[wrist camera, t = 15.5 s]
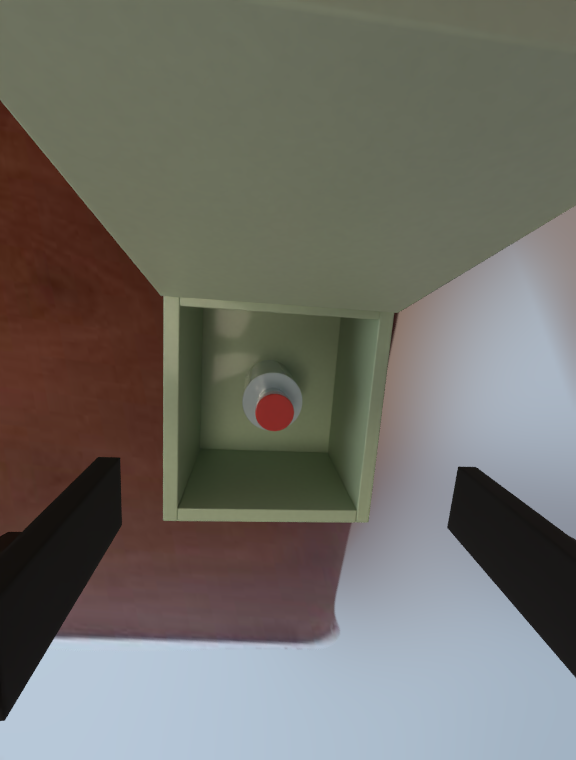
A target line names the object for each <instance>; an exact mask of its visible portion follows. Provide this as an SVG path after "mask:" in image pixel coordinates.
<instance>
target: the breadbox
mask: <svg viewBox="0 0 576 760" xmlns="http://www.w3.org/2000/svg"><path fill="white" fill-rule="evenodd" d="M393 318H394V312H380V311H366V310H352V309H338V308H324V307H310V306H296V305H282V304H268V303H254V302H240V301H226V300H212V299H198V298H184V297H170V296H164V376H163V520H164V521H177V520H178V521H251V522H368V521H369V513H370V504H371V496H372V488H373V480H374V472H375V463H376V455H377V448H378V440H379V432H380V423H381V415H382V407H383V399H384V391H385V383H386V375H387V367H388V359H389V351H390V342H391V334H392V326H393ZM263 360H275V361H278V362H280V363H282V364H284V365H285V366H286V367H287V368H288V369H289V371H290V372H291V374H292V376H293V378H294V379H295V381H296V383H297V385H298V387H299V388H300V391H301V394H302V408H301V411H300V414H299V416H298V417H297V419H296V420H295V421H294V422H293V423H292V424H291V425H289V426H287V427H286V428H285V429H283V430H280V431H268V430H263V429H260V428H258V427H256V426H255V425H253V424H252V423H251V422H250V421H249V420H248V418H247V417H246V415H245V413H244V410H243V405H242V399H243V390H244V382H245V377H246V374H247V372H248V371H249V369H250V368H251V367H252V366H253V365H255V364H256V363H258V362H260V361H263Z"/></svg>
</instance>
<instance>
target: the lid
mask: <svg viewBox="0 0 576 760" xmlns="http://www.w3.org/2000/svg"><path fill="white" fill-rule="evenodd" d="M0 100H1V101H2V103H3V104H4V105H5V106H6V108H7V109H8V110H9V111H10V112H11V114H12V115H13V116H14V117H15V118H16V120H17V121H18V122H19V123H20V125H21V126H22V127H23V128H24V129H25V131H26V132H27V133H28V134H29V136H30V137H31V138H32V139H33V140H34V142H35V143H36V144H37V145H38V147H39V148H40V149H41V150H42V151H43V153H44V154H45V155H46V156H47V157H48V159H49V160H50V161H51V162H52V164H53V165H54V166H55V167H56V168H57V170H58V171H59V172H60V173H61V175H62V176H63V177H64V178H65V179H66V181H67V182H68V183H69V184H70V185H71V187H72V188H73V189H74V190H75V192H76V193H77V194H78V195H79V196H80V198H81V199H82V200H83V201H84V203H85V204H86V205H87V206H88V207H89V209H90V210H91V211H92V212H93V213H94V215H95V216H96V217H97V218H98V220H99V221H100V222H101V223H102V224H103V226H104V227H105V228H106V229H107V231H108V232H109V233H110V234H111V235H112V237H113V238H114V239H115V240H116V242H117V243H118V244H119V245H120V246H121V248H122V249H123V250H124V251H125V252H126V254H127V255H128V256H129V257H130V259H131V260H132V261H133V262H134V263H135V265H136V266H137V267H138V268H139V270H140V271H141V272H142V273H143V274H144V276H145V277H146V278H147V279H148V280H149V282H150V283H151V284H152V285H153V287H154V288H155V289H156V290H157V291H158V293H159V294H160V295H161V296H170V297H184V298H198V299H212V300H226V301H240V302H254V303H268V304H282V305H296V306H310V307H324V308H338V309H352V310H366V311H380V312H395V313H399V312H400V311H402V310H404V309H405V308H407V307H408V306H410V305H412V304H414V303H415V302H417V301H419V300H420V299H422V298H423V297H425V296H427V295H428V294H430V293H432V292H433V291H435V290H437V289H438V288H440V287H442V286H443V285H445V284H447V283H448V282H450V281H451V280H453V279H455V278H457V277H458V276H460V275H461V274H463V273H465V272H466V271H468V270H470V269H471V268H473V267H475V266H476V265H478V264H480V263H481V262H483V261H485V260H486V259H488V258H490V257H491V256H493V255H494V254H496V253H498V252H499V251H501V250H503V249H504V248H506V247H508V246H509V245H510V244H513V243H514V242H516V241H518V240H519V239H521V238H523V237H524V236H526V235H528V234H529V233H531V232H533V231H534V230H536V229H537V228H539V227H541V226H542V225H544V224H546V223H547V222H549V221H551V220H552V219H554V218H556V217H557V216H559V215H560V214H562V213H564V212H566V211H567V210H569V209H571V208H572V207H574V206H575V205H576V0H0Z"/></svg>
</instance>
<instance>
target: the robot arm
mask: <svg viewBox="0 0 576 760" xmlns="http://www.w3.org/2000/svg"><path fill="white" fill-rule="evenodd" d="M121 525H122V513H121V475H120V458H113V457H98V458H97V459H96V460H95V461H94V462H93V463H92V464H91V465H90V466H89V467H88V468H87V469H86V470H85V471H84V472H83V473H82V474H81V475H79V476H78V477H77V478H76V479H75V480H74V481H73V482H72V483H71V484H70V485H69V486H68V487H67V488H66V489H65V490H64V491H63V492H62V493H61V494H60V495H59V496H58V497H57V498H56V499H55V500H54V501H53V502H52V503H51V504H50V505H49V506H48V507H47V508H46V509H45V510H44V511H43V512H42V513H41V514H40V515H39V516H38V517H37V518H36V519H35V520H34V521H33V522H32V523H31V524H30V525H29V526H28V527H27V528H26V529H25V530H24V531H23V532H7V533H6V534H4V535H2V536H0V721H4V720H5V719H6V717H7V716H8V714H9V712H10V711H11V709H12V707H13V706H14V704H15V702H16V700H17V699H18V697H19V696H20V694H21V692H22V691H23V689H24V687H25V686H26V684H27V682H28V680H29V679H30V677H31V676H32V674H33V672H34V671H35V669H36V667H37V666H38V664H39V662H40V660H41V659H42V657H43V656H44V654H45V652H46V651H47V649H48V647H49V646H50V644H51V642H52V641H53V639H54V637H55V636H56V634H57V632H58V631H59V629H60V627H61V626H62V624H63V622H64V621H65V619H66V617H67V616H68V614H69V612H70V611H71V609H72V607H73V606H74V604H75V602H76V601H77V599H78V597H79V596H80V594H81V592H82V591H83V589H84V587H85V586H86V584H87V582H88V581H89V579H90V577H91V576H92V574H93V572H94V571H95V569H96V567H97V566H98V564H99V562H100V561H101V559H102V557H103V556H104V554H105V552H106V551H107V549H108V547H109V546H110V544H111V542H112V541H113V539H114V537H115V535H116V534H117V532H118V530H119V529H120V527H121ZM448 529H449V530H450V531H451V533H452V534H453V535H454V536H455V537H456V538H457V540H458V541H459V542H460V543H461V544H462V545H463V547H464V548H465V549H466V550H467V551H468V552H469V553H470V554H471V556H472V557H473V558H474V559H475V560H476V562H477V563H478V564H479V565H480V566H481V567H482V568H483V570H484V571H485V572H486V573H487V575H488V576H489V577H490V578H491V579H492V580H493V582H494V583H495V584H496V585H497V586H498V587H499V588H500V590H501V591H502V592H503V593H504V594H505V596H506V597H507V598H508V599H509V600H510V601H511V602H512V604H513V605H514V606H515V607H516V608H517V610H518V611H519V612H520V613H521V614H522V615H523V617H524V618H525V619H526V620H527V621H528V622H529V624H530V625H531V626H532V627H533V628H534V629H535V631H536V632H537V633H538V634H539V635H540V636H541V638H542V639H543V640H544V641H545V642H546V643H547V645H548V646H549V647H550V648H551V649H552V650H553V652H554V653H555V654H556V655H557V656H558V657H559V659H560V660H561V661H562V662H563V663H564V664H565V666H566V667H567V668H568V669H569V670H570V671H571V673H572V674H573V675H574V676H575V677H576V540H575V539H574V538H571V537H570V536H568V535H567V534H565V533H564V532H563V531H561V530H560V529H559V528H557V527H556V526H555V525H553V524H552V523H550V522H549V521H548V520H546V519H545V518H544V517H542V516H541V515H540V514H538V513H537V512H536V511H534V510H533V509H532V508H530V507H529V506H528V505H526V504H525V503H524V502H522V501H521V500H520V499H518V498H517V497H516V496H514V495H513V494H511V493H510V492H509V491H507V490H506V489H505V488H503V487H502V486H501V485H499V484H498V483H497V482H495V481H494V480H493V479H491V478H490V477H489V476H487V475H486V474H485V473H483V472H482V471H481V470H479V469H478V468H476V467H458V471H457V476H456V482H455V488H454V494H453V499H452V504H451V511H450V516H449V521H448Z"/></svg>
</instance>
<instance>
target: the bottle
mask: <svg viewBox="0 0 576 760" xmlns="http://www.w3.org/2000/svg"><path fill="white" fill-rule="evenodd" d="M242 405H243V410H244V413H245V415H246V417H247V418H248V420H249V421H250V422H251V423H252V424H253V425H255V426H256V427H258V428H260V429H263V430H268V431H280V430H283V429H285V428H286V427H287V426H289V425H291V424H292V423H293V422H294V421H295V420H296V419H297V417H298V416H299V414H300V411H301V408H302V394H301V391H300V388H299V387H298V385H297V383H296V381H295V379H294V378H293V376H292V374H291V372H290V371H289V369H288V368H287V367H286V366H285V365H284V364H282V363H280V362H278V361H275V360H263V361H260V362H258V363H256V364H255V365H253V366H252V367H251V368H250V369H249V371H248V372H247V374H246V377H245V382H244V390H243V399H242Z"/></svg>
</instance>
